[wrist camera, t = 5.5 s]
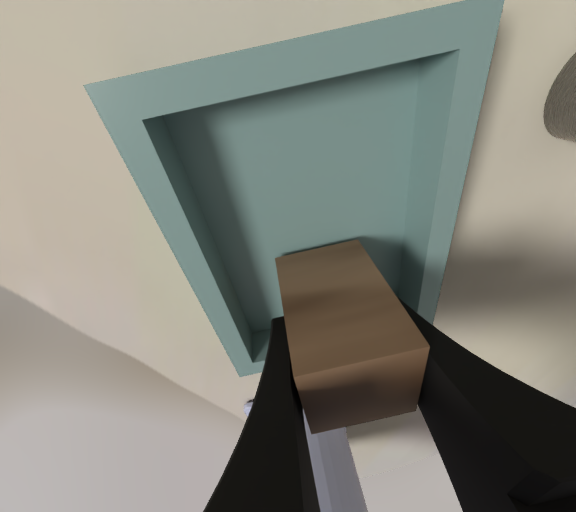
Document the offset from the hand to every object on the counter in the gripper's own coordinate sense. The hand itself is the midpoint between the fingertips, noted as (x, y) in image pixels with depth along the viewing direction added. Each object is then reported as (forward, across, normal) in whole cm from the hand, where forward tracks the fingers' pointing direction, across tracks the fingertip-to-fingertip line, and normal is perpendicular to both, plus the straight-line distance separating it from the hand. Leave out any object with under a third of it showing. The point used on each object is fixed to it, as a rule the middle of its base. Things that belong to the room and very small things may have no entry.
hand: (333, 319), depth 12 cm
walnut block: (+2, 0, 0) cm, 2 cm away
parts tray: (+3, 0, -3) cm, 5 cm away
